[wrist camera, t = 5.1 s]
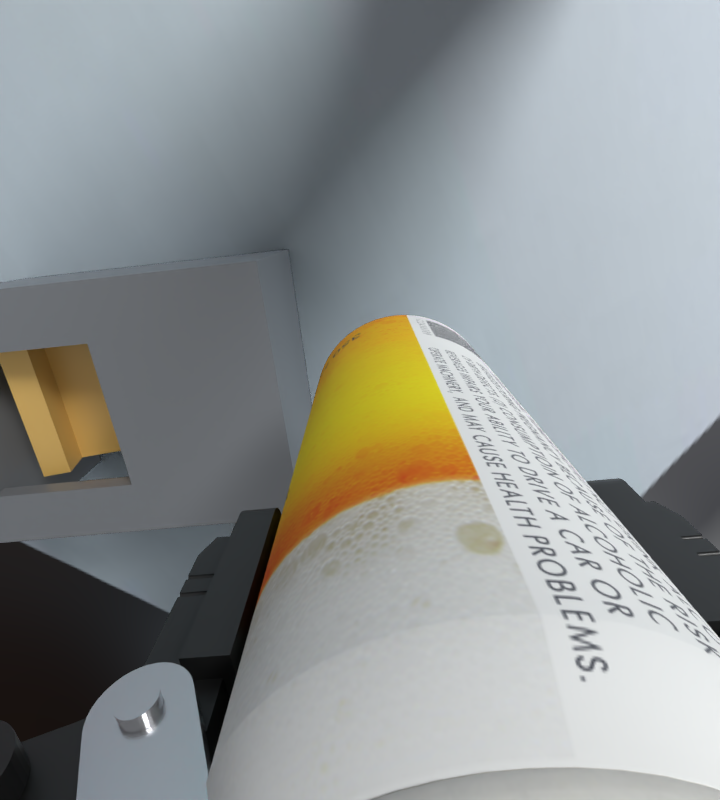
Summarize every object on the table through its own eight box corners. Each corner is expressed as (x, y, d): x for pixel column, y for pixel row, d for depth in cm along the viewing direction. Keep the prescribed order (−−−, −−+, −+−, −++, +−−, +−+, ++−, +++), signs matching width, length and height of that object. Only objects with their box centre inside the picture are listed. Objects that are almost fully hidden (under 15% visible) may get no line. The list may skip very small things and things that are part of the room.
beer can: (298, 432, 18) (92, 1099, 4) (353, 285, 16) (294, 653, 2) (440, 482, 19) (644, 1186, 5) (509, 346, 17) (1152, 900, 3)
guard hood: (288, 249, 31) (256, 260, 22) (317, 440, 36) (301, 516, 27) (25, 278, 32) (-115, 301, 23) (88, 461, 37) (-5, 543, 27)
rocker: (255, 295, 30) (254, 301, 27) (278, 423, 33) (280, 441, 30) (18, 326, 28) (-10, 337, 25) (67, 460, 31) (46, 484, 28)
